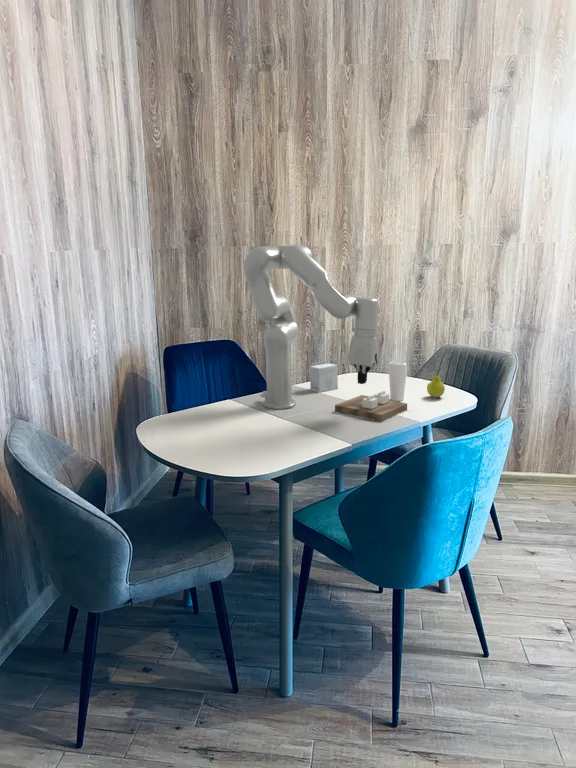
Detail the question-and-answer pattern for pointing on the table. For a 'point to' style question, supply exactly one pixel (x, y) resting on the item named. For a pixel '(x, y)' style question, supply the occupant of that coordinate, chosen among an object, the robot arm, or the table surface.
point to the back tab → (382, 397)
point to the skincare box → (324, 377)
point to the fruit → (436, 387)
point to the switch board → (376, 413)
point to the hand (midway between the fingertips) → (361, 383)
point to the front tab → (370, 402)
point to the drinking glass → (397, 380)
